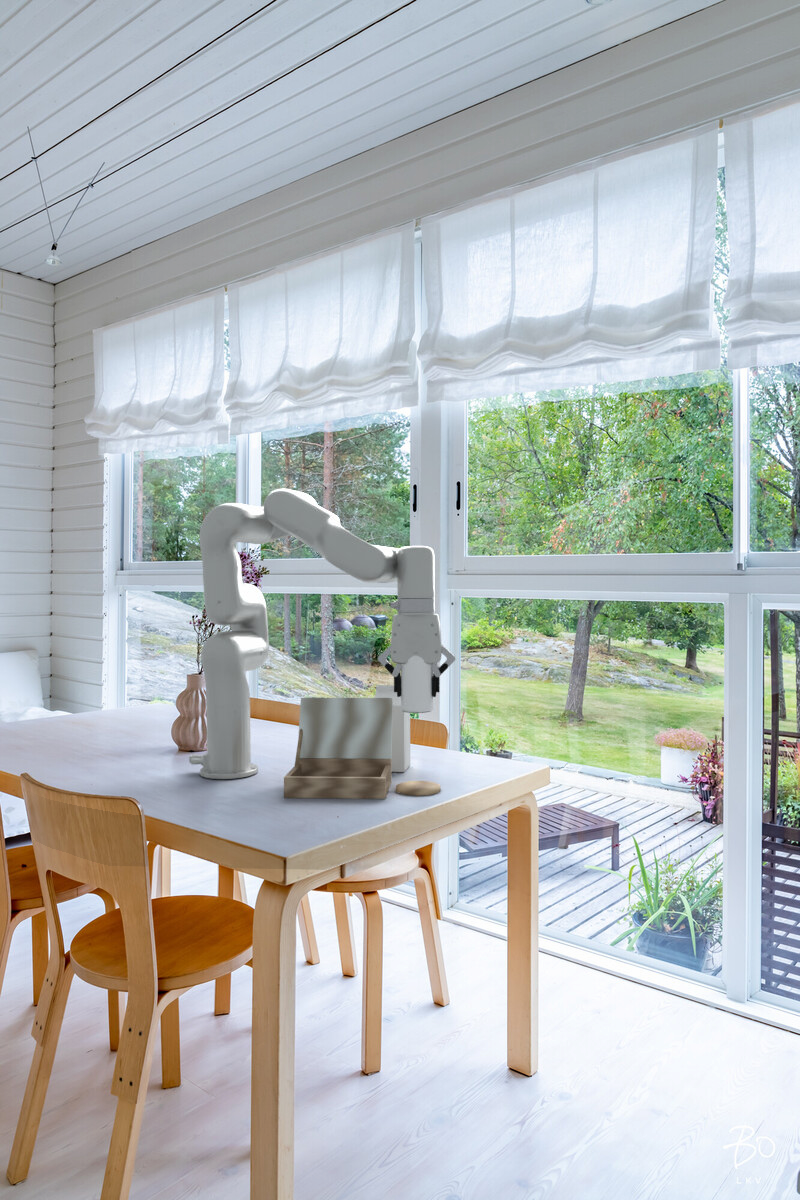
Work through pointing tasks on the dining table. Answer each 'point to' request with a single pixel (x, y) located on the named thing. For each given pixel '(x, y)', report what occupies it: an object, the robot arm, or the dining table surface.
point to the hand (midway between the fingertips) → (416, 695)
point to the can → (416, 686)
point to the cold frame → (342, 749)
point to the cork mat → (418, 788)
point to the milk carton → (397, 729)
